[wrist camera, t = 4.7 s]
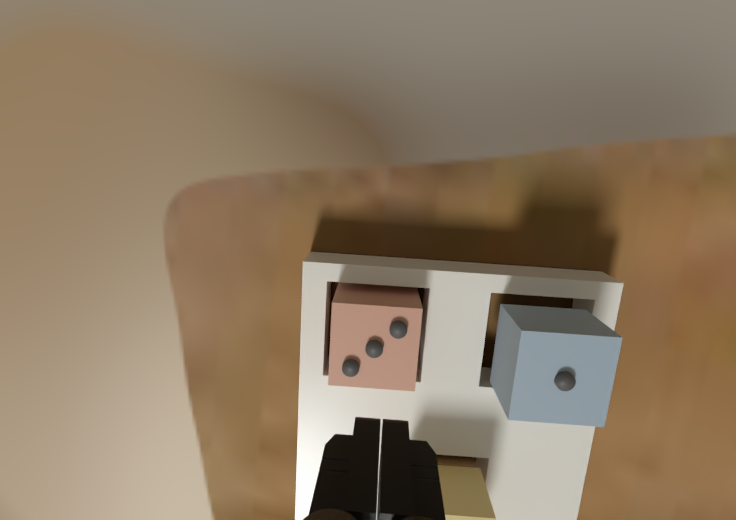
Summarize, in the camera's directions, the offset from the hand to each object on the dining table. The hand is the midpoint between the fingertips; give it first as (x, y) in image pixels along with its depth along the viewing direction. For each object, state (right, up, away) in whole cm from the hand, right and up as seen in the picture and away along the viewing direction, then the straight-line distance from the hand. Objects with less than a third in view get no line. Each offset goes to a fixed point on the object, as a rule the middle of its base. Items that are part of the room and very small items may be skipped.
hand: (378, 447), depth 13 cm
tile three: (0, +2, +9) cm, 9 cm away
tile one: (+7, +2, +7) cm, 10 cm away
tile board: (+3, -2, +10) cm, 11 cm away
